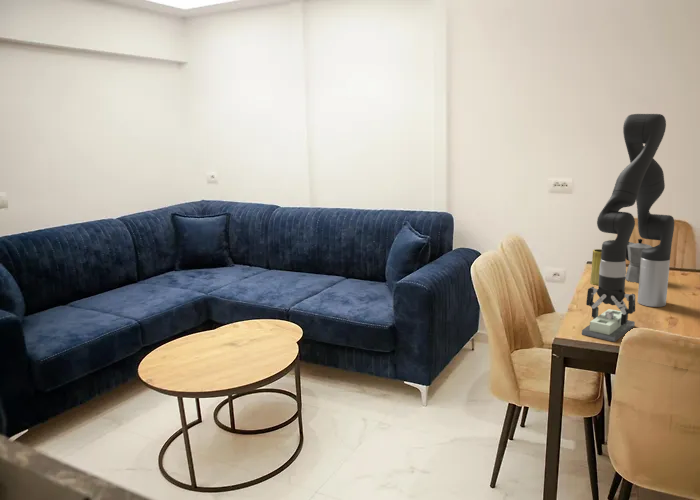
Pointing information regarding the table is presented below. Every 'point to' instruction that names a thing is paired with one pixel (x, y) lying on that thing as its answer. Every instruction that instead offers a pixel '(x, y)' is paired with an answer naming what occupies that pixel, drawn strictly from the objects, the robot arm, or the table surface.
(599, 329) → the flange bar
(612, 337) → the base
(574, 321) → the table surface
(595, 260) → the vase
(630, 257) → the coffeepot
